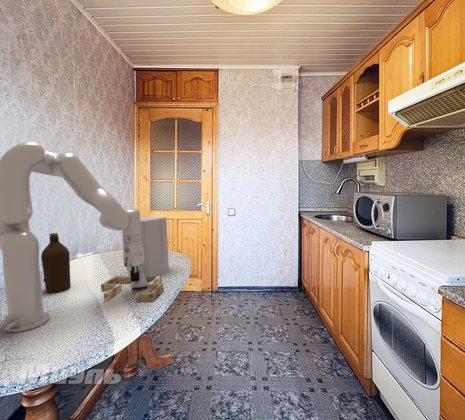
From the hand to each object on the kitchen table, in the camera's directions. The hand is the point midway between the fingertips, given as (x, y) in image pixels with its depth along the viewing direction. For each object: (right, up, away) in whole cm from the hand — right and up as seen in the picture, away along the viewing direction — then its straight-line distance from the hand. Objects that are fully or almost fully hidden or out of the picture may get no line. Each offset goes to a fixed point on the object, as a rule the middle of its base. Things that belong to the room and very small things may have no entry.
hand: (135, 280), depth 123 cm
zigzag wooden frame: (-1, -4, +1) cm, 4 cm away
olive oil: (-36, -5, +5) cm, 36 cm away
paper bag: (-1, -2, +23) cm, 23 cm away
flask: (+1, -4, +3) cm, 5 cm away
